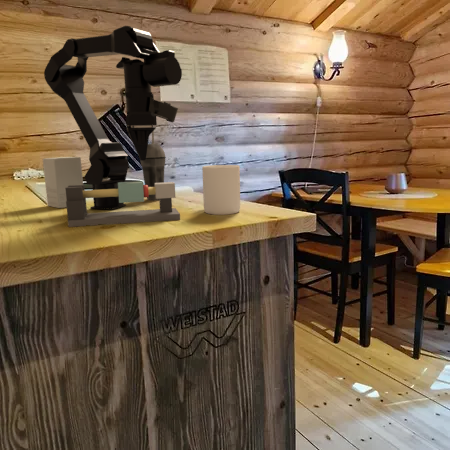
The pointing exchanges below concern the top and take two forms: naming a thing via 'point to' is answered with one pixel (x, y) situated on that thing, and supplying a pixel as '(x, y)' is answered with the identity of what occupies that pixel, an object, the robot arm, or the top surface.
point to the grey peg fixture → (82, 218)
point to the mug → (221, 189)
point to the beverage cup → (153, 166)
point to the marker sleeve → (130, 192)
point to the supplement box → (61, 178)
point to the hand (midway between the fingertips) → (142, 159)
